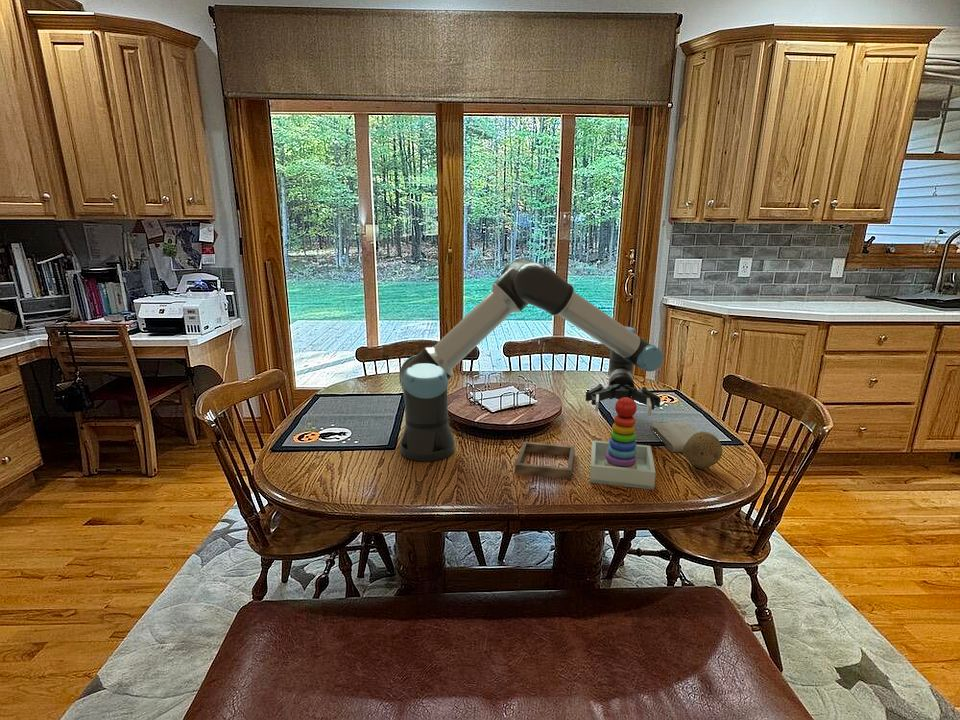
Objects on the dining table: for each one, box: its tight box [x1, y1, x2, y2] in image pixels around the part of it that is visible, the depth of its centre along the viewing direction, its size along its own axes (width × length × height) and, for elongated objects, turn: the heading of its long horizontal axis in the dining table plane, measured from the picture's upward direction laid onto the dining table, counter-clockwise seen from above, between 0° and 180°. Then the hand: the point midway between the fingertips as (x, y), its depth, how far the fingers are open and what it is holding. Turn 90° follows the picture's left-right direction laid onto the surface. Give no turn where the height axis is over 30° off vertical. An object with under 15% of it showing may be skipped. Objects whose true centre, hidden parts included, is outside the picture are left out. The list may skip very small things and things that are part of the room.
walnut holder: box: [514, 441, 576, 480], centre depth 134 cm, size 14×14×2 cm
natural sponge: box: [683, 431, 723, 470], centre depth 130 cm, size 9×9×10 cm
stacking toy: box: [604, 397, 638, 469], centre depth 127 cm, size 8×8×19 cm
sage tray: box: [589, 440, 656, 491], centre depth 129 cm, size 15×15×4 cm
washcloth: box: [649, 421, 698, 453], centre depth 149 cm, size 12×18×3 cm, turn 4°
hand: (623, 409), depth 136 cm, fingers open, 13 cm apart
